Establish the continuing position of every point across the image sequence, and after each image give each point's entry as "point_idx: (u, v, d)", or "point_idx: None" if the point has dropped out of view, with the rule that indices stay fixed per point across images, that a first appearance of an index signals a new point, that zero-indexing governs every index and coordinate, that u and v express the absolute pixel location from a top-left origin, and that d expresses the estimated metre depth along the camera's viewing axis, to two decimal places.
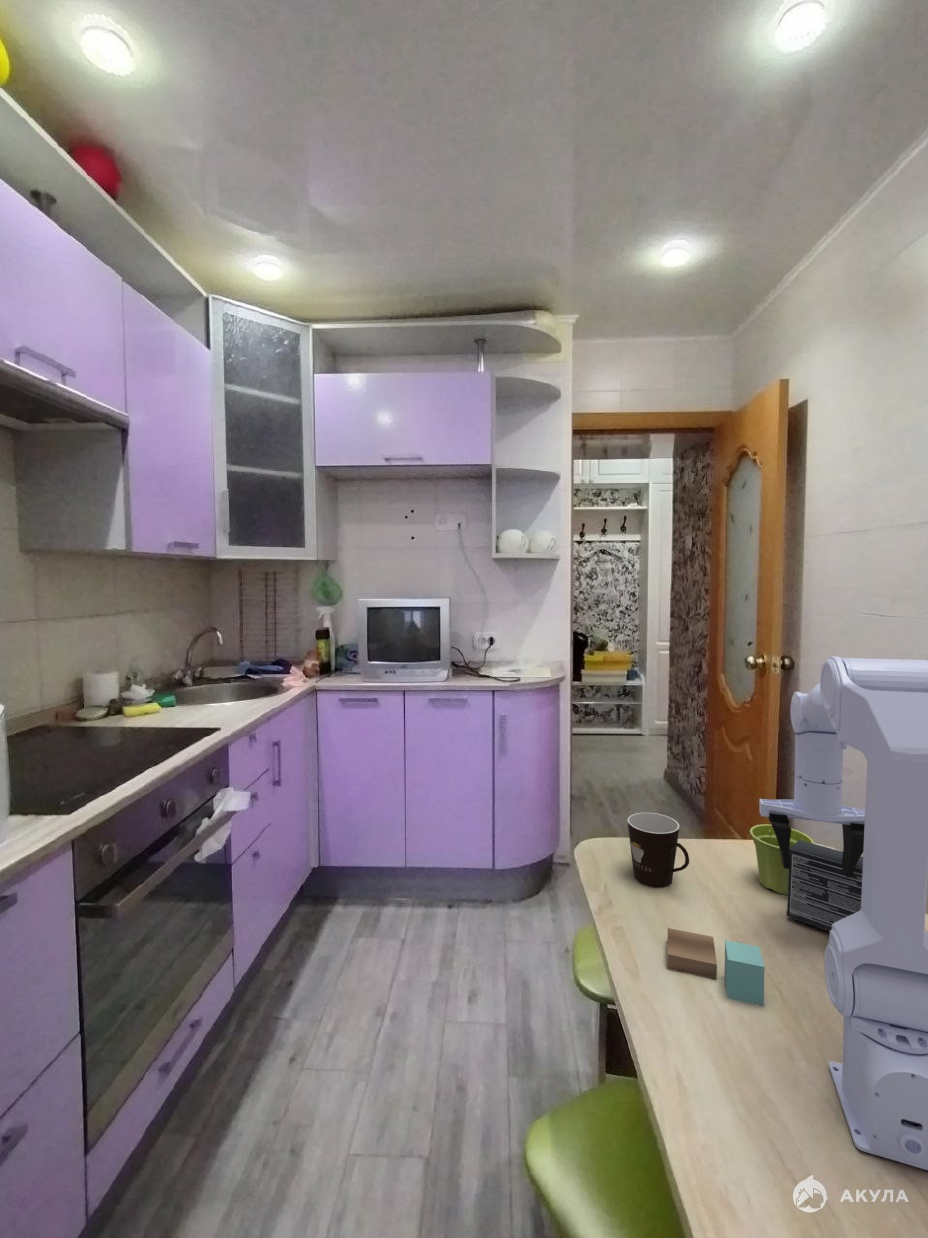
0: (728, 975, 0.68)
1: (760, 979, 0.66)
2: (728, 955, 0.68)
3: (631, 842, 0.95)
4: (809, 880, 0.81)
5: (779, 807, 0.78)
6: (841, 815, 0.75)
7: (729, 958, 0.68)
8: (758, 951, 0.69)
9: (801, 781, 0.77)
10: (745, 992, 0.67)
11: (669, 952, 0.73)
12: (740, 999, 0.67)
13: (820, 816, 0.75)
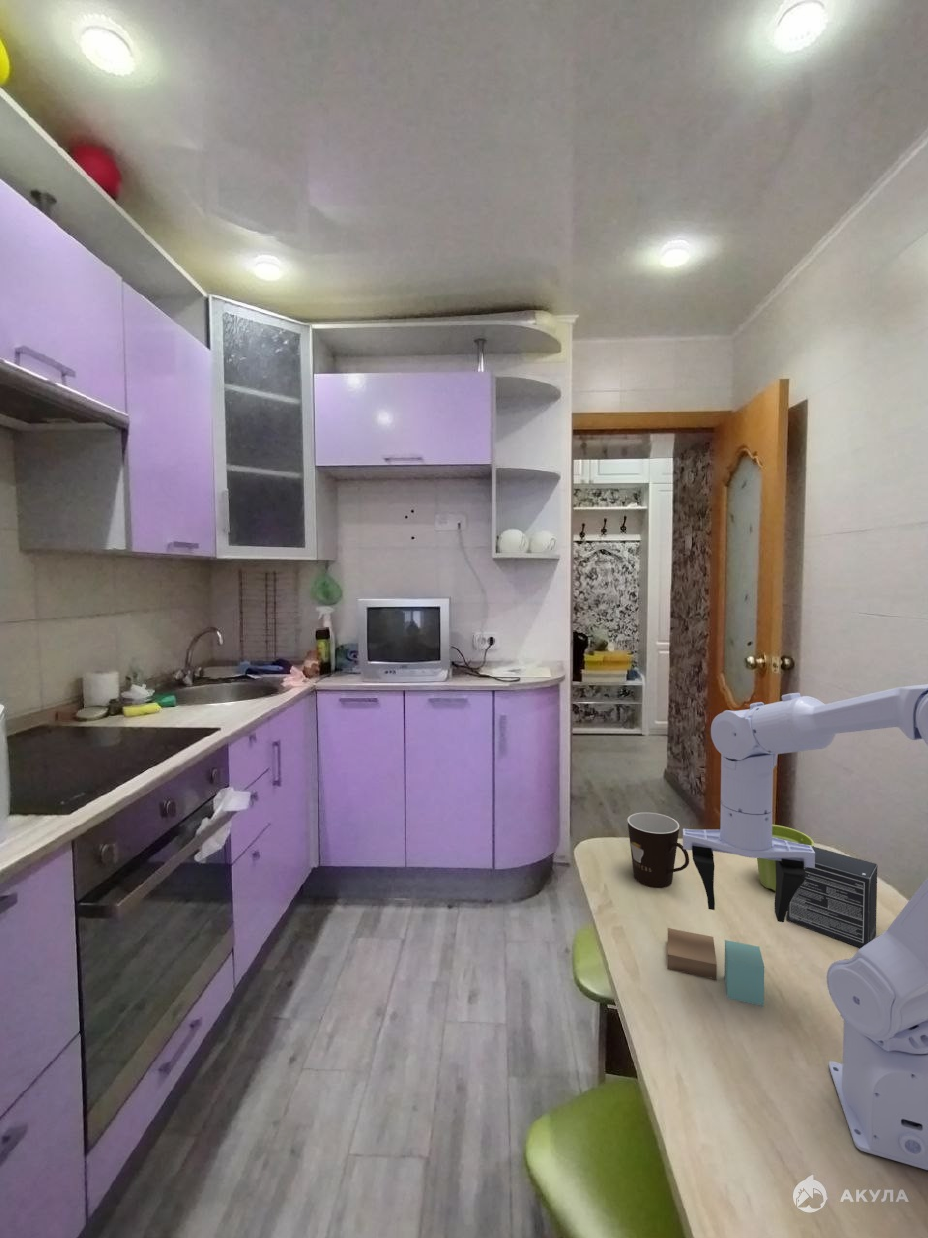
0: (728, 975, 0.68)
1: (760, 978, 0.66)
2: (728, 955, 0.68)
3: (631, 842, 0.95)
4: (808, 886, 0.81)
5: (702, 839, 0.68)
6: (771, 850, 0.65)
7: (729, 958, 0.68)
8: (758, 951, 0.69)
9: (726, 810, 0.67)
10: (745, 992, 0.67)
11: (669, 952, 0.73)
12: (740, 999, 0.67)
13: (746, 851, 0.65)
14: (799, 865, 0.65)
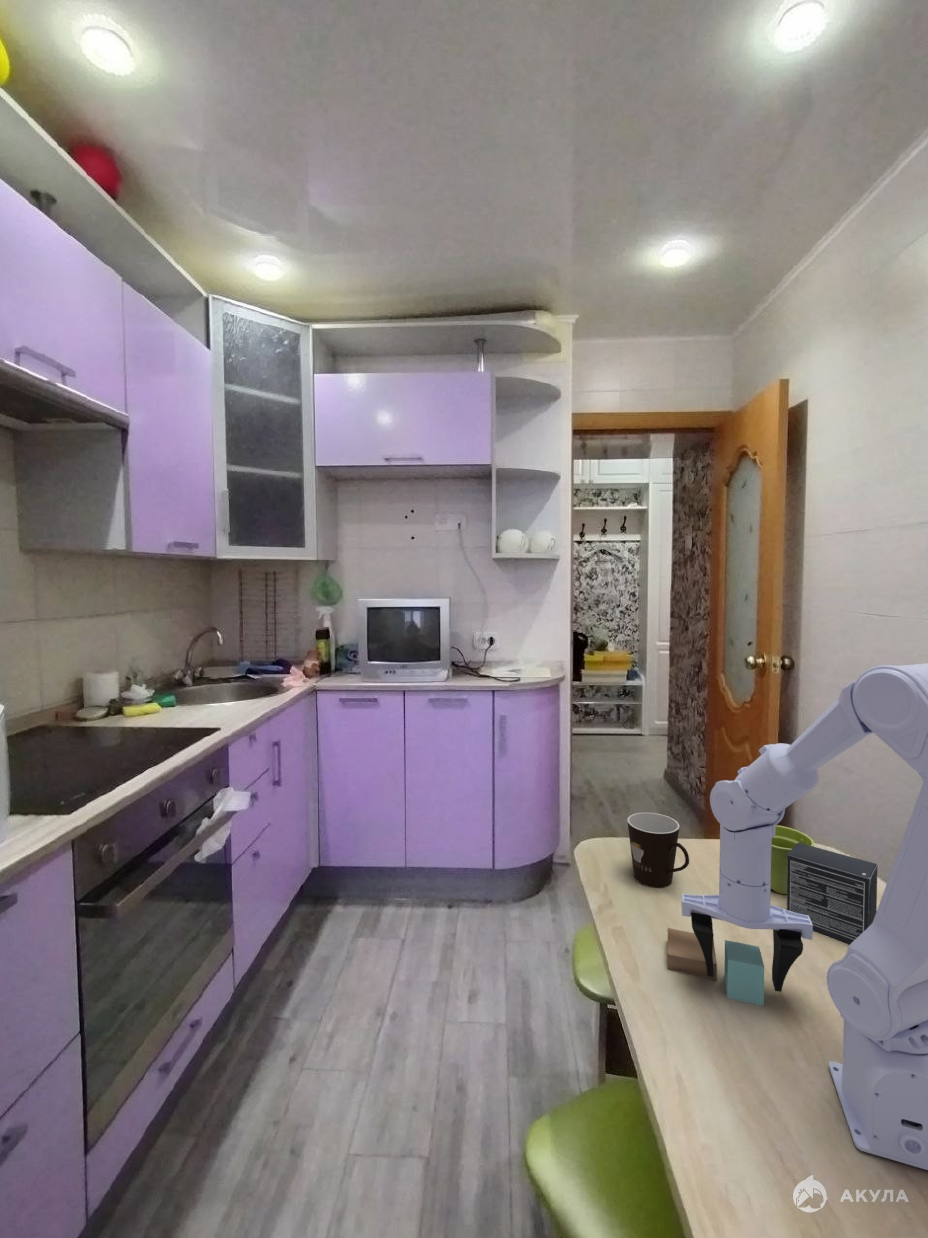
0: (728, 975, 0.68)
1: (760, 978, 0.66)
2: (728, 955, 0.68)
3: (631, 842, 0.95)
4: (808, 886, 0.81)
5: (701, 907, 0.69)
6: (769, 921, 0.66)
7: (729, 958, 0.68)
8: (758, 951, 0.69)
9: (725, 880, 0.67)
10: (745, 992, 0.67)
11: (669, 952, 0.73)
12: (740, 999, 0.67)
13: (744, 922, 0.66)
14: (796, 936, 0.66)
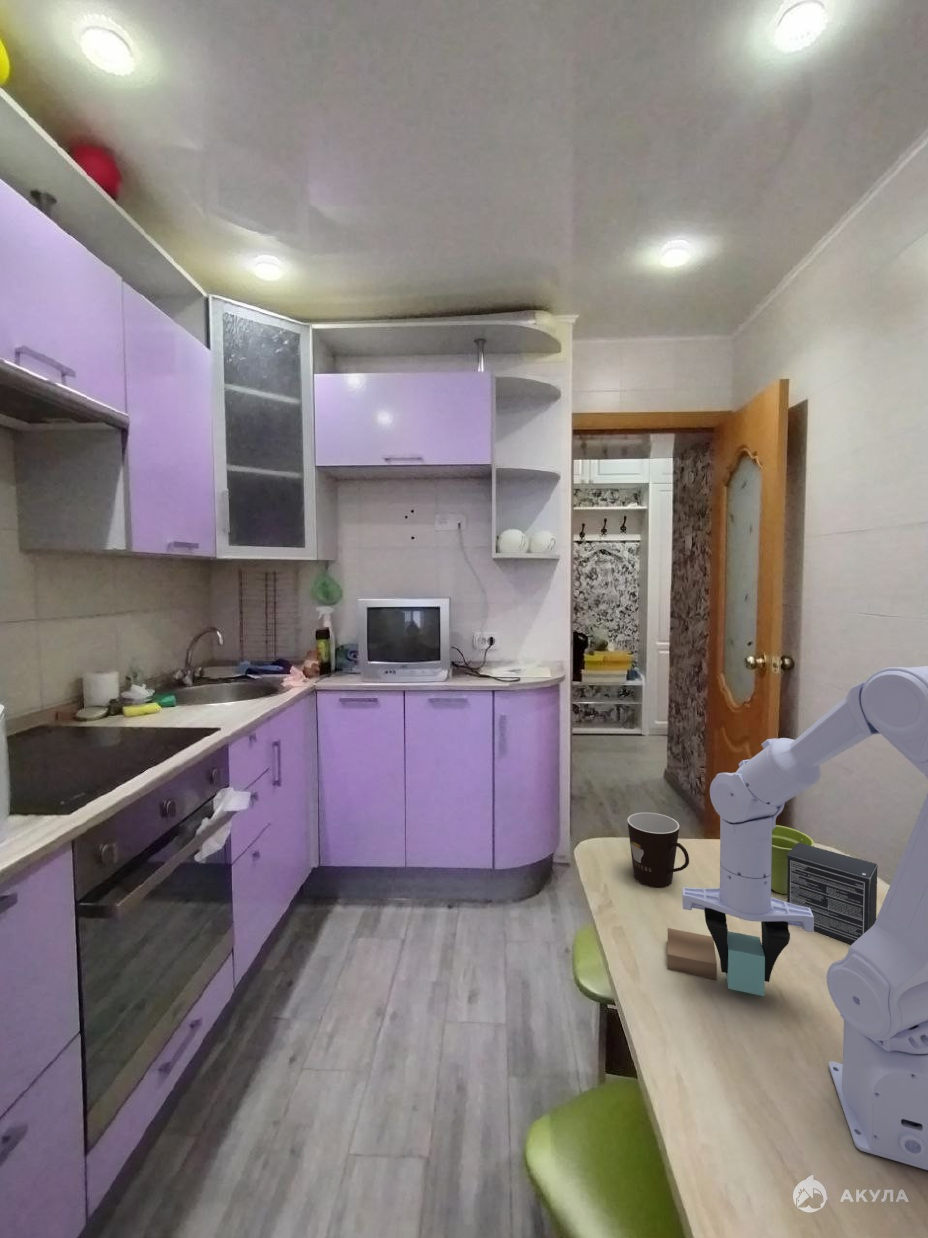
0: (729, 965, 0.68)
1: (761, 968, 0.66)
2: (728, 945, 0.68)
3: (631, 842, 0.95)
4: (808, 886, 0.81)
5: (702, 900, 0.69)
6: (770, 913, 0.65)
7: (729, 948, 0.68)
8: (758, 941, 0.69)
9: (725, 872, 0.67)
10: (746, 982, 0.67)
11: (669, 952, 0.73)
12: (741, 989, 0.67)
13: (745, 915, 0.65)
14: (783, 926, 0.66)
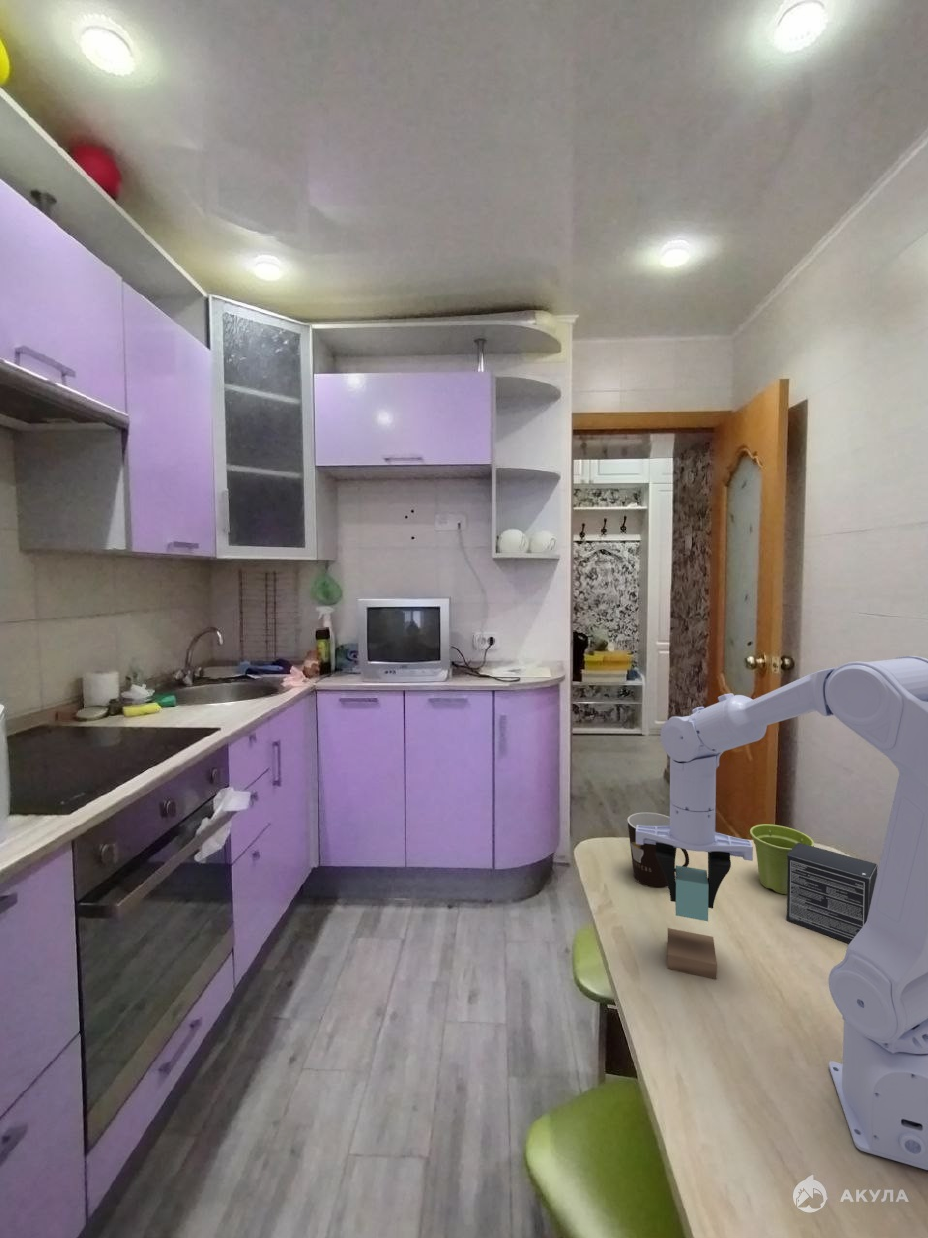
0: (676, 894, 0.73)
1: (705, 895, 0.72)
2: (676, 876, 0.74)
3: (631, 842, 0.95)
4: (808, 886, 0.81)
5: (652, 835, 0.74)
6: (713, 844, 0.71)
7: (677, 878, 0.73)
8: (705, 873, 0.74)
9: (673, 808, 0.73)
10: (691, 909, 0.73)
11: (669, 952, 0.73)
12: (687, 916, 0.73)
13: (690, 845, 0.71)
14: (726, 856, 0.72)
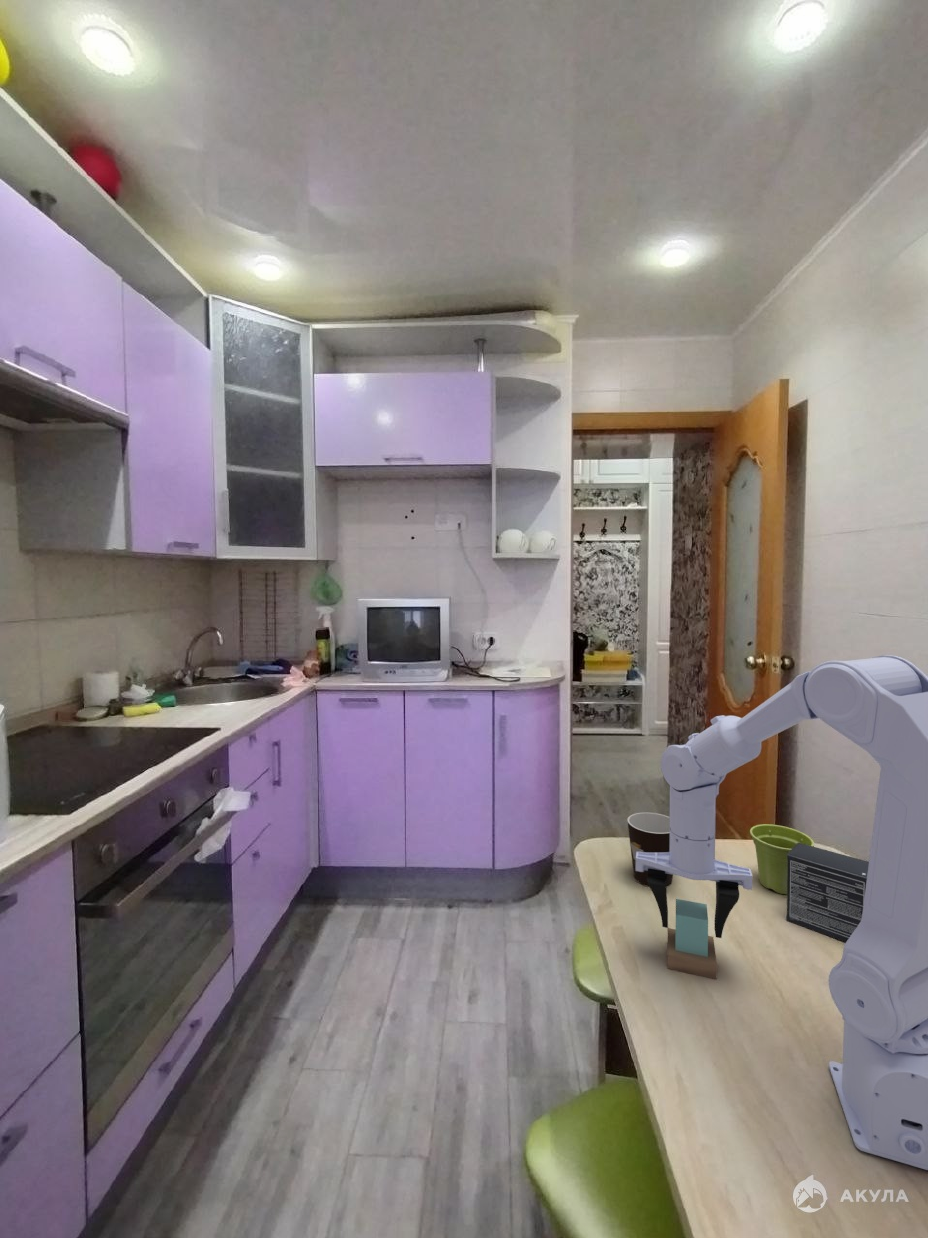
0: (676, 929, 0.73)
1: (704, 931, 0.72)
2: (676, 911, 0.74)
3: (631, 842, 0.95)
4: (808, 886, 0.81)
5: (652, 862, 0.74)
6: (712, 873, 0.71)
7: (677, 913, 0.73)
8: (705, 908, 0.75)
9: (673, 836, 0.73)
10: (691, 944, 0.73)
11: (669, 952, 0.73)
12: (687, 951, 0.73)
13: (690, 874, 0.71)
14: (734, 886, 0.71)
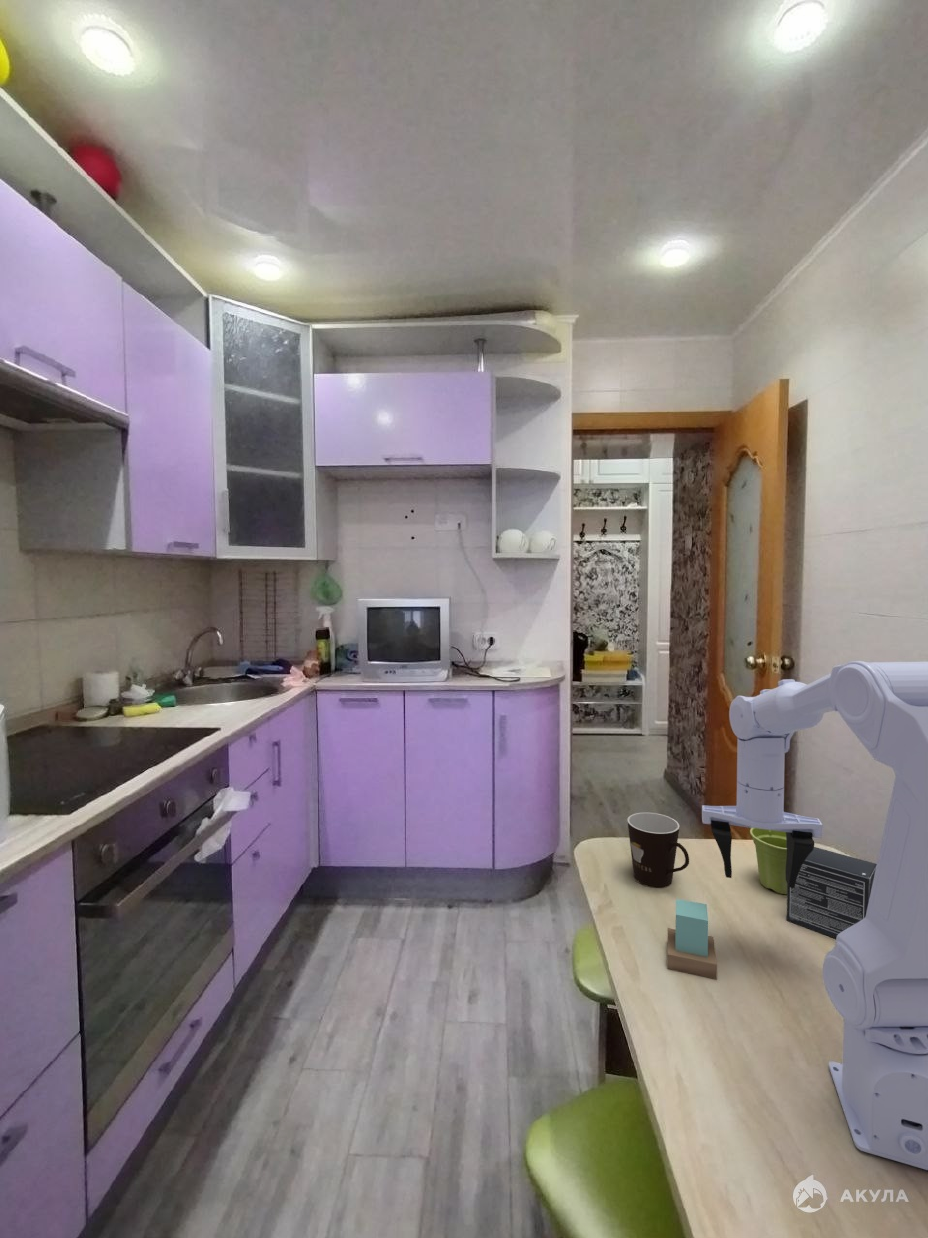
0: (676, 929, 0.73)
1: (704, 931, 0.72)
2: (676, 911, 0.74)
3: (631, 842, 0.95)
4: (808, 886, 0.81)
5: (720, 814, 0.75)
6: (782, 822, 0.72)
7: (677, 913, 0.73)
8: (705, 908, 0.75)
9: (742, 787, 0.74)
10: (691, 944, 0.73)
11: (669, 952, 0.73)
12: (687, 951, 0.73)
13: (760, 824, 0.72)
14: (808, 836, 0.72)
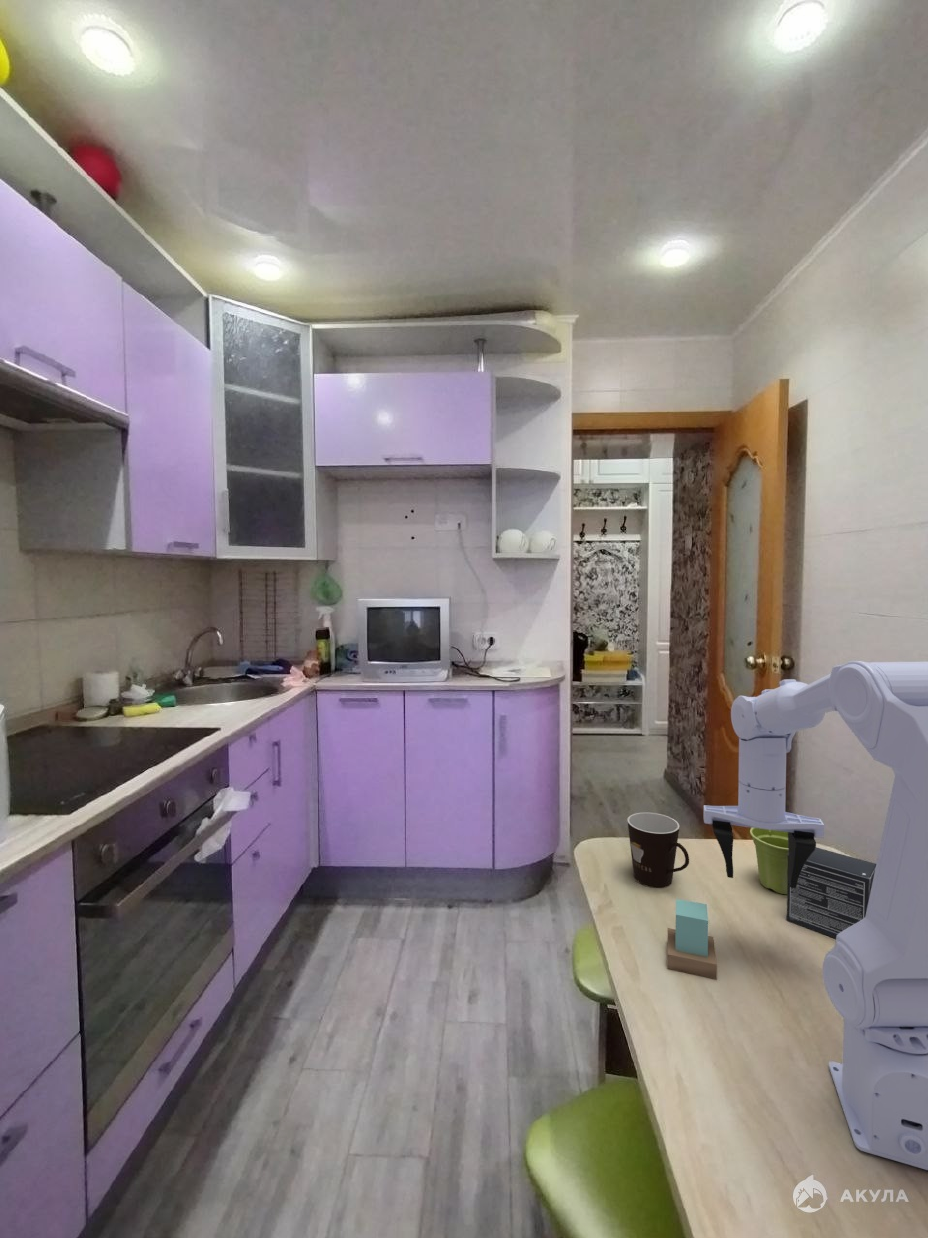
0: (676, 929, 0.73)
1: (704, 931, 0.72)
2: (676, 911, 0.74)
3: (631, 842, 0.95)
4: (808, 886, 0.81)
5: (722, 814, 0.76)
6: (784, 822, 0.72)
7: (677, 913, 0.73)
8: (705, 908, 0.75)
9: (744, 787, 0.74)
10: (691, 944, 0.73)
11: (669, 952, 0.73)
12: (687, 951, 0.73)
13: (762, 823, 0.72)
14: (810, 836, 0.72)
